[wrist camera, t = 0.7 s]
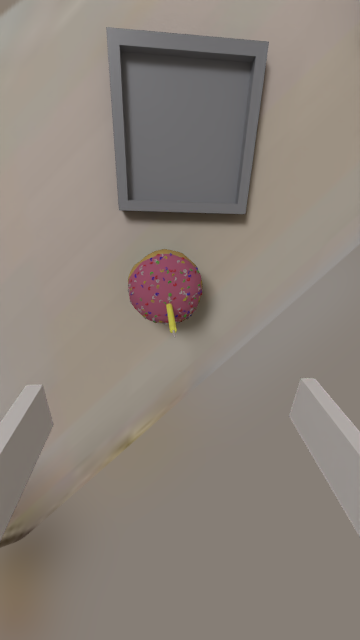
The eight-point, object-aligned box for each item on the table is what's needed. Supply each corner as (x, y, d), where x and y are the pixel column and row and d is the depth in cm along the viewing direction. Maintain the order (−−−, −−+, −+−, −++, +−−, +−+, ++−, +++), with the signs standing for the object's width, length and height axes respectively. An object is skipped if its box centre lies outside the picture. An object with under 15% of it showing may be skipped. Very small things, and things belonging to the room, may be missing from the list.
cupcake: (204, 296, 34) (225, 342, 24) (145, 315, 35) (140, 368, 24) (186, 234, 31) (201, 255, 20) (120, 256, 31) (101, 289, 20)
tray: (121, 209, 29) (118, 210, 27) (110, 38, 23) (106, 27, 21) (240, 213, 30) (245, 214, 28) (261, 52, 24) (269, 41, 22)
